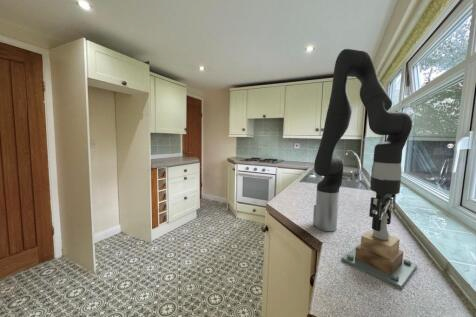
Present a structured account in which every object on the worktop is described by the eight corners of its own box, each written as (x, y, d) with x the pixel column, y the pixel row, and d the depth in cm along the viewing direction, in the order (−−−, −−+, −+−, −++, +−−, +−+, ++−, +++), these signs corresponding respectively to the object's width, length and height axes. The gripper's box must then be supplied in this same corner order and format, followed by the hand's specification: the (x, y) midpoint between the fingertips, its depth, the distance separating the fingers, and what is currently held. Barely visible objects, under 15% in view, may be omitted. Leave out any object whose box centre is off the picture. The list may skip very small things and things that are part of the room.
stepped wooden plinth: (355, 258, 66) (356, 235, 65) (367, 249, 72) (369, 227, 71) (391, 275, 58) (394, 249, 57) (402, 263, 64) (404, 239, 63)
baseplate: (341, 260, 67) (341, 255, 67) (361, 245, 76) (362, 241, 76) (400, 289, 54) (401, 283, 54) (416, 267, 64) (417, 262, 63)
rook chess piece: (373, 232, 68) (375, 209, 67) (389, 237, 65) (392, 213, 64) (371, 237, 64) (373, 213, 63) (388, 242, 61) (391, 217, 60)
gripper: (380, 173, 70) (376, 218, 71) (362, 177, 61) (358, 228, 63) (407, 176, 64) (402, 225, 65) (392, 181, 55) (387, 237, 57)
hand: (381, 226), depth 64 cm, fingers open, 8 cm apart
